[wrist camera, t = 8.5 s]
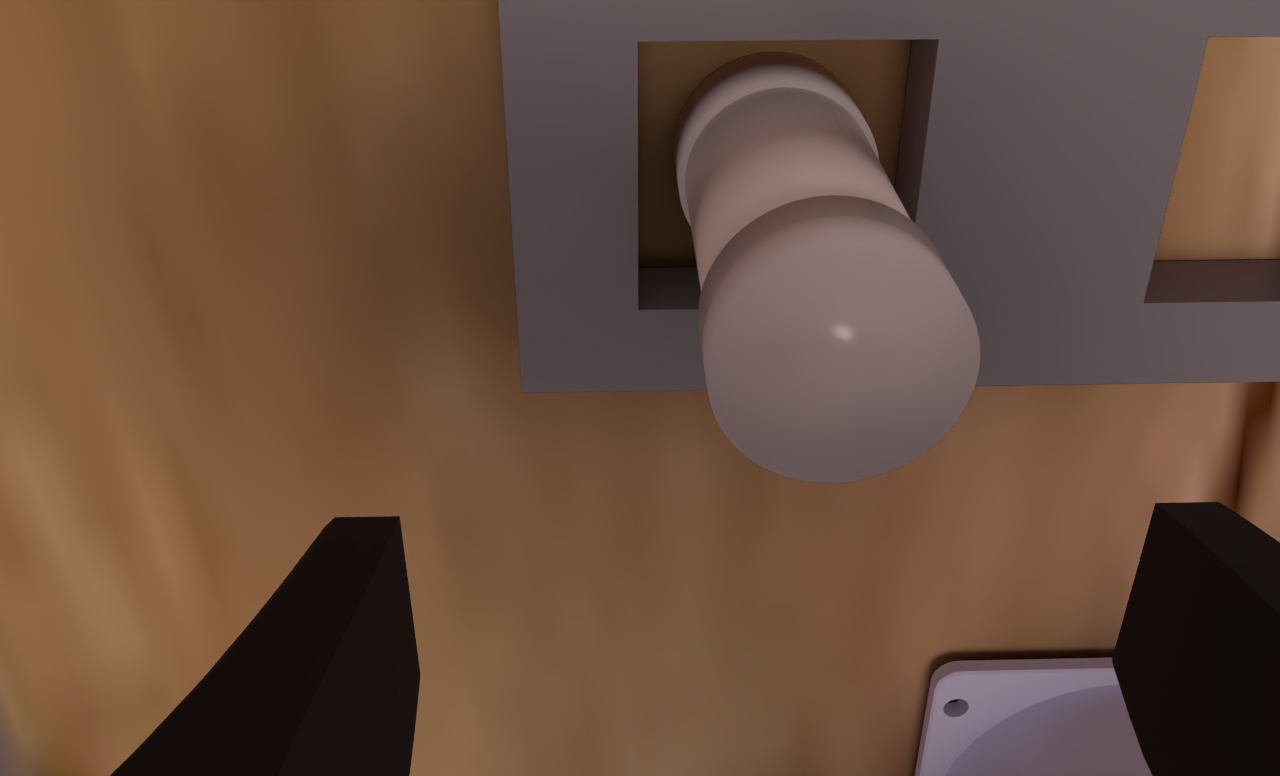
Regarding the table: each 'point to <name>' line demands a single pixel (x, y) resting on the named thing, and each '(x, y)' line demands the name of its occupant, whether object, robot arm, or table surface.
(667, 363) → the holder
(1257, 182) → the table surface
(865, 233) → the cylinder
